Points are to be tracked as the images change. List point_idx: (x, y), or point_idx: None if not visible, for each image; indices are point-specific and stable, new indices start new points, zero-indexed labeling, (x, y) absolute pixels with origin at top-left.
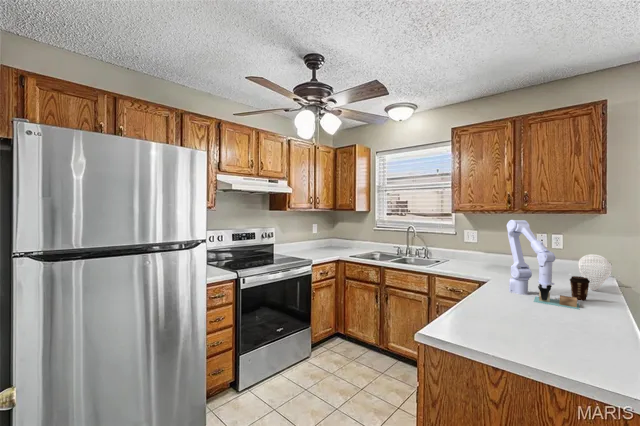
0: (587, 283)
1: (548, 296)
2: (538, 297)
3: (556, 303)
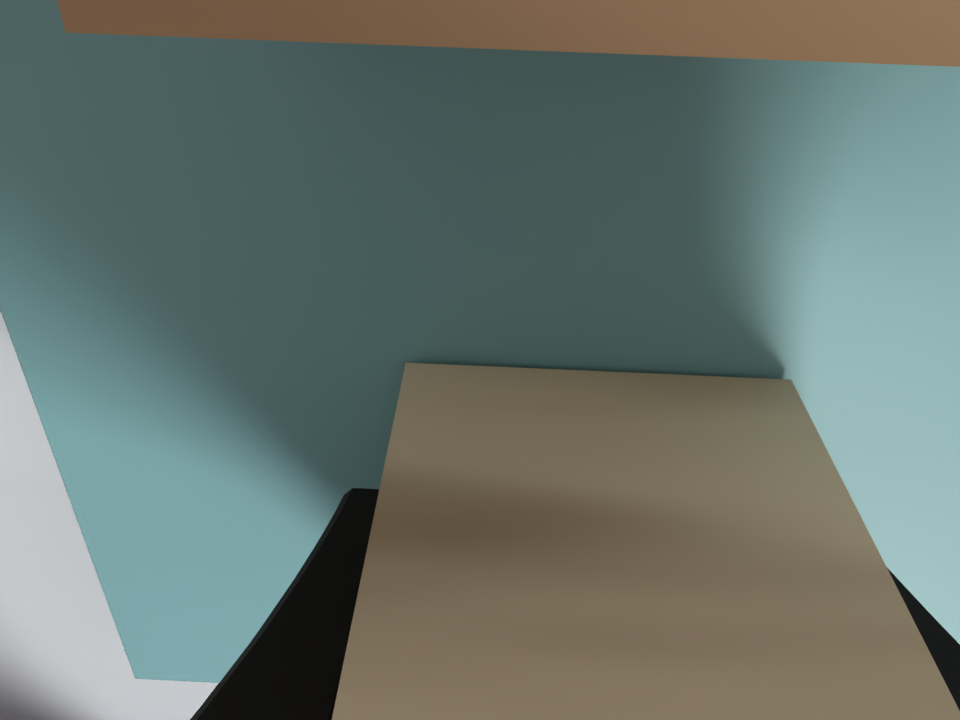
0: None
1: (874, 616)
2: (219, 626)
3: (847, 116)
